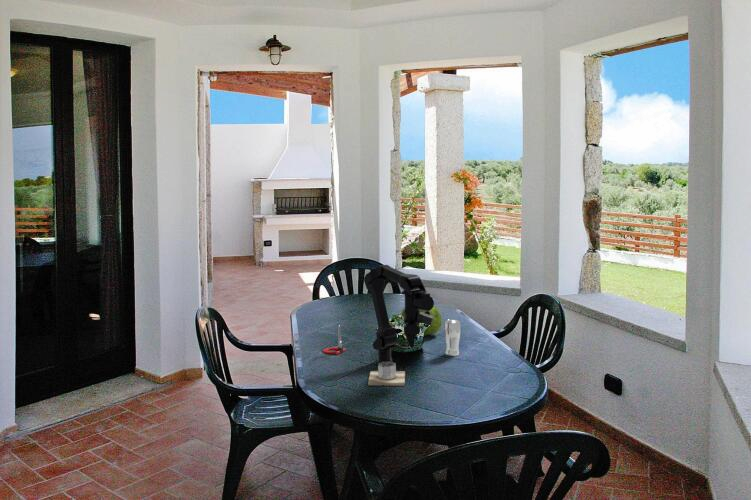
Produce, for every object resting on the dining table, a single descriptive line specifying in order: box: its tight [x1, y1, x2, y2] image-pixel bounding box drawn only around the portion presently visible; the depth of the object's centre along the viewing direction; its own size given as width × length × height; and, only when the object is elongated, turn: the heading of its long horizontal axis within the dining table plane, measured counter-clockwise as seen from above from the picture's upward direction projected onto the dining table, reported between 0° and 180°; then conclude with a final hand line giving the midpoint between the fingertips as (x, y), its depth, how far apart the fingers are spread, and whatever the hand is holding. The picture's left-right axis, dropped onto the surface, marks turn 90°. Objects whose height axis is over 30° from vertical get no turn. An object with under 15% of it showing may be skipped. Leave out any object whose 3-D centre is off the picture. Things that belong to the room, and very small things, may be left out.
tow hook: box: [323, 324, 347, 355], centre depth 278 cm, size 8×13×9 cm
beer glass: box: [444, 319, 461, 357], centre depth 272 cm, size 7×7×15 cm
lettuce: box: [399, 304, 443, 337], centre depth 305 cm, size 18×23×19 cm
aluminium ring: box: [377, 361, 397, 380], centre depth 240 cm, size 7×7×5 cm
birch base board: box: [367, 370, 406, 387], centre depth 241 cm, size 14×14×1 cm
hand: (412, 344), depth 246 cm, fingers open, 9 cm apart
